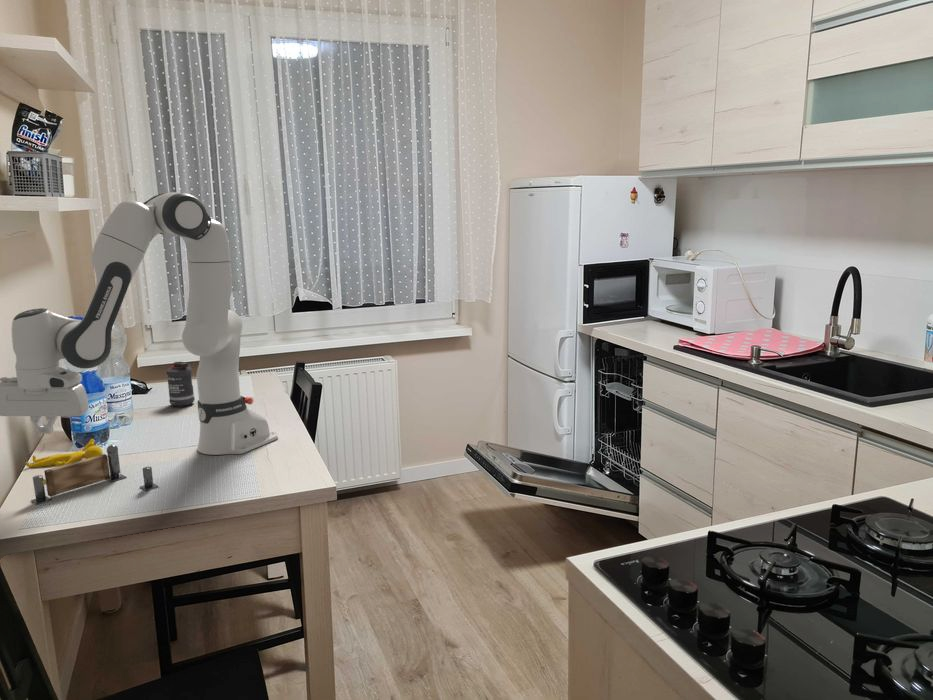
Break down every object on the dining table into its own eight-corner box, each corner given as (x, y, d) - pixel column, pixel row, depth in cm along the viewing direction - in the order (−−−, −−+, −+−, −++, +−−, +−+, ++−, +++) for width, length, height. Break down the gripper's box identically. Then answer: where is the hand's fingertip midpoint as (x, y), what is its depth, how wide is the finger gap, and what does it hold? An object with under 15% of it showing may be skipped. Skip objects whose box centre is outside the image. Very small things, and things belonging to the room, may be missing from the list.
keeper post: (152, 483, 172) (150, 464, 171) (158, 486, 170) (156, 467, 169) (139, 487, 170) (137, 468, 169) (145, 491, 168) (143, 471, 167)
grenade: (200, 403, 242) (196, 361, 239) (181, 409, 235) (177, 366, 232) (183, 400, 246) (179, 359, 243) (164, 406, 239) (160, 363, 236)
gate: (107, 477, 175) (104, 454, 174) (110, 478, 174) (107, 455, 173) (47, 495, 165) (44, 470, 164) (50, 496, 164) (46, 472, 163)
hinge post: (119, 474, 179) (115, 441, 177) (126, 477, 176) (122, 444, 175) (105, 478, 176) (101, 445, 174) (111, 482, 174) (107, 448, 172)
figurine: (37, 447, 191) (106, 435, 195) (41, 462, 192) (110, 451, 196) (17, 464, 178) (92, 452, 182) (22, 481, 180) (96, 468, 183)
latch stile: (45, 496, 165) (42, 473, 164) (51, 500, 163) (47, 476, 162) (31, 501, 163) (27, 477, 162) (36, 504, 161) (32, 480, 160)
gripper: (-15, 380, 161) (-7, 437, 164) (74, 381, 162) (81, 437, 165) (2, 374, 168) (9, 428, 170) (88, 374, 168) (94, 428, 171)
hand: (45, 433), depth 168 cm, fingers closed
